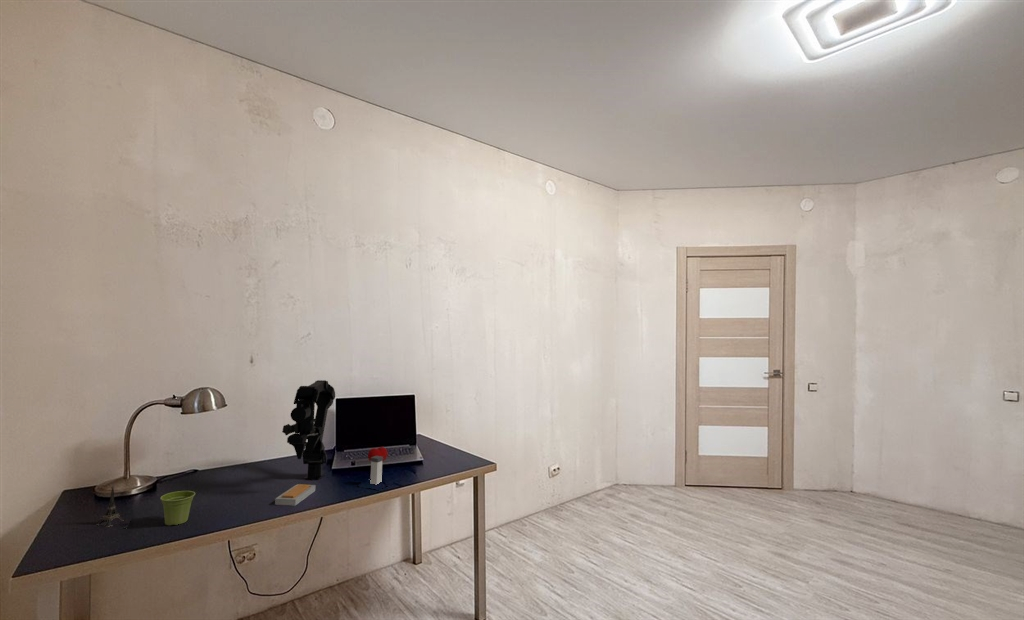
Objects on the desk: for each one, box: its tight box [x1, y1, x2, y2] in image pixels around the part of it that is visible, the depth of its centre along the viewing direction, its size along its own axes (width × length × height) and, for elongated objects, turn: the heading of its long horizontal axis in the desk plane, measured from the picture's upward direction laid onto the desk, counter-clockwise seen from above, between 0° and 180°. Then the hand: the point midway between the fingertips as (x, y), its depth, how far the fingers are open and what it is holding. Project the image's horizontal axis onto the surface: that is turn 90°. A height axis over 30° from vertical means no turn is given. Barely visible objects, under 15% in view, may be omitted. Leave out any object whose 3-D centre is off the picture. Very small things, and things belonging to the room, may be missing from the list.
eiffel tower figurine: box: [95, 485, 125, 528], centre depth 154 cm, size 15×10×13 cm
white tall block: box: [369, 456, 384, 485], centre depth 198 cm, size 4×4×11 cm
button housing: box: [274, 483, 317, 507], centre depth 180 cm, size 16×8×2 cm, turn 178°
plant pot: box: [160, 490, 196, 526], centre depth 156 cm, size 9×9×9 cm
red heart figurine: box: [367, 446, 388, 463], centre depth 218 cm, size 9×7×10 cm
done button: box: [282, 483, 310, 498], centre depth 180 cm, size 13×4×2 cm, turn 178°
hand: (304, 455), depth 191 cm, fingers open, 9 cm apart
